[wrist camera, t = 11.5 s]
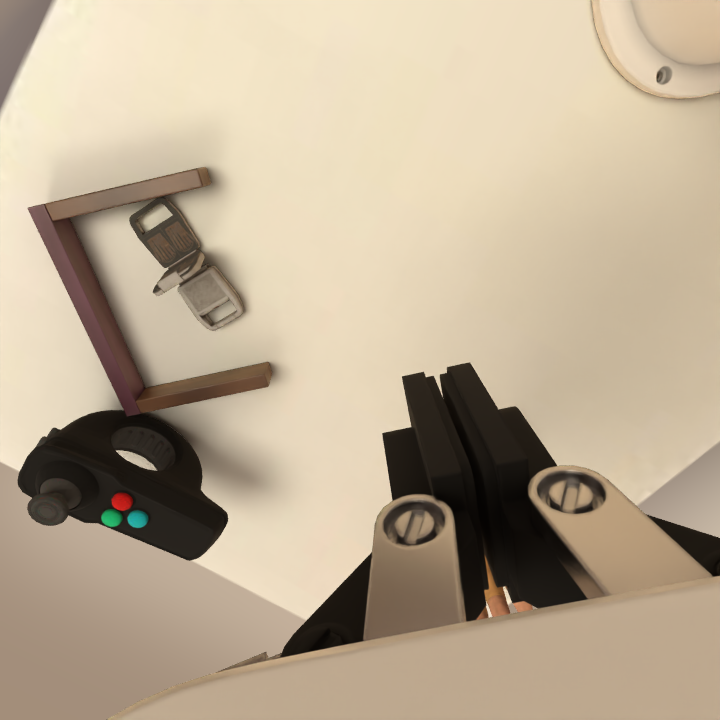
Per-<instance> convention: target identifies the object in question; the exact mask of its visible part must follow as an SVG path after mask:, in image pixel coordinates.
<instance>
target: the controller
mask: <svg viewBox="0 0 720 720" xmlns="http://www.w3.org/2000/svg"><path fill="white" fill-rule="evenodd" d="M115 450H124V451H129V452H133V453H136V454H138V455H140V456H142V457H144V458H146V459H147V460H148V461H149V462H151V463H152V464H153V465H154V466H155V468H156V469H157V470H158V471H153V470H148V469H144V468H141V467H139V466H137V465H135V464H133V463H131V462H129V461H127V460H125V459H124V458H123V457H121V456H120V455H119V454H118V453H117V452H116V451H115ZM201 484H202V468H201V464H200V460H199V458H198V456H197V454H196V453H195V451H194V450H193V448H192V446H191V445H190V444H189V443H188V442H187V441H186V440H185V438H184V437H183V436H182V435H180V434H179V433H178V432H176V431H175V430H174V429H173V428H171V427H170V426H168V425H166V424H165V423H163V422H161V421H159V420H157V419H155V418H152V417H149V416H147V415H144V414H136V415H131V416H127V415H126V413H125V411H122V410H109V411H100V412H95V413H91V414H88V415H86V416H83V417H81V418H79V419H77V420H75V421H73V422H72V423H70V424H69V425H67V426H66V427H64V428H63V429H61V430H60V429H57V428H52V430H51V431H50V432H49V434H48V436H47V437H45V436H44V437H42V438H41V440H40V441H39V443H38V444H37V446H36V447H35V449H34V450H33V451H32V452H31V453H30V454H29V455H28V457H27V458H26V460H25V462H24V464H23V466H22V468H21V470H20V472H19V476H18V486H19V487H20V489H21V490H22V492H23V493H25V494H27V495H28V496H30V497H32V499H31V500H30V502H29V503H28V513H29V515H30V516H31V518H32V519H34V520H35V521H36V522H38V523H40V524H43V525H48V526H53V525H58V524H60V523H62V522H64V521H65V519H66V518H67V517H68V515H69V516H71V517H73V518H76V519H78V520H80V521H82V522H84V523H99V524H101V525H103V526H106V527H108V528H111V529H113V530H116V531H118V532H120V533H123V534H125V535H128V536H130V537H133V538H135V539H137V540H140V541H142V542H145V543H147V544H150V545H152V546H154V547H157V548H159V549H162V550H164V551H167V552H169V553H172V554H174V555H176V556H179V557H181V558H184V559H186V560H189V561H191V560H194V559H197V558H199V557H200V556H202V555H203V554H204V553H205V552H206V551H207V550H208V549H209V548H210V547H211V546H212V545H213V544H214V543H215V541H216V540H217V539H218V538H219V536H220V535H221V533H222V532H223V530H224V528H225V527H226V524H227V522H228V515H227V512H225V511H224V510H223V509H222V508H221V507H220V506H218V505H217V504H216V503H214V502H213V501H212V500H210V499H209V498H208V497H206V496H205V495H204V493H203V492H202V491H201Z"/></svg>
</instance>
